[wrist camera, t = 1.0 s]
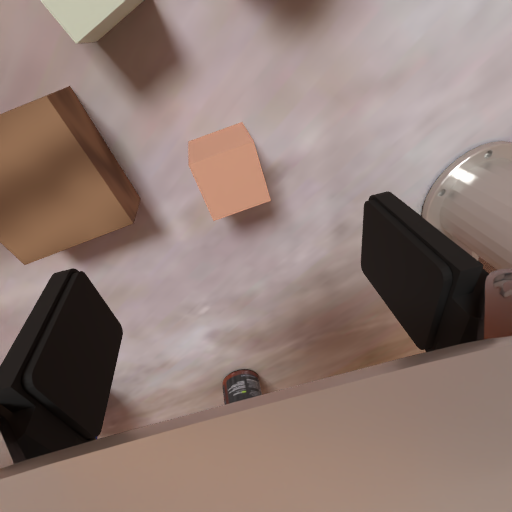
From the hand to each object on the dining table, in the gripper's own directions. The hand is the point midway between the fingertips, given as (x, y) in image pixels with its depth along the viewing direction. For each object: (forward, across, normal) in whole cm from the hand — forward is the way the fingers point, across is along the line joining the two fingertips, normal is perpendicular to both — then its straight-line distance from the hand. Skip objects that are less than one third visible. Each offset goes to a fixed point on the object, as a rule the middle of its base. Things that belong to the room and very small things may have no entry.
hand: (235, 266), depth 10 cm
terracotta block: (+20, -1, +3) cm, 20 cm away
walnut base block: (+20, +14, +1) cm, 24 cm away
